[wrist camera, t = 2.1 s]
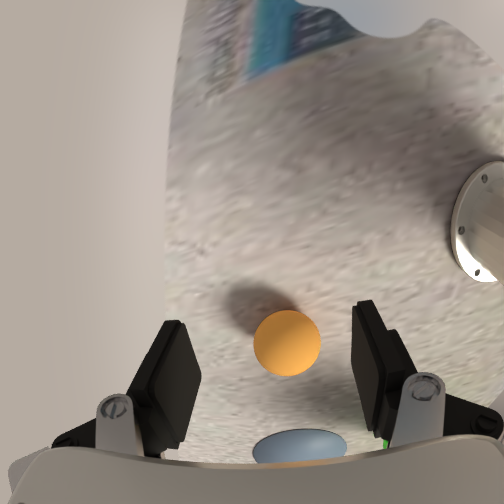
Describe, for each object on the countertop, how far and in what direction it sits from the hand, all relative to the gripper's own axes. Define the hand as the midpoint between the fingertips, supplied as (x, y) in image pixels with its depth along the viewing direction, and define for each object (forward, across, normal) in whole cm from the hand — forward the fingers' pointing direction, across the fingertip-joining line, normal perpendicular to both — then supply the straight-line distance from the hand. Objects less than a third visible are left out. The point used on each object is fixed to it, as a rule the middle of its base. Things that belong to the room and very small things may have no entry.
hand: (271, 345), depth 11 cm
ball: (+13, 0, +10) cm, 16 cm away
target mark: (+16, 0, +35) cm, 38 cm away
